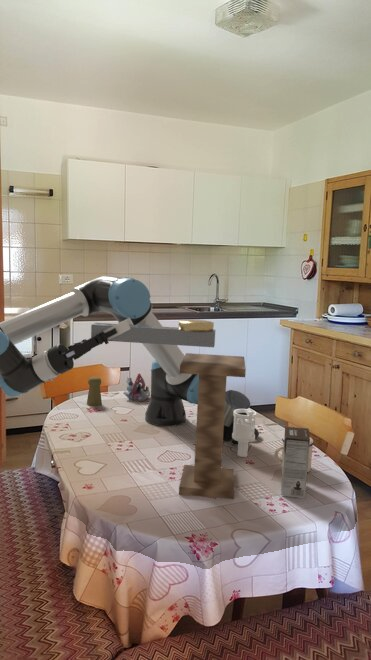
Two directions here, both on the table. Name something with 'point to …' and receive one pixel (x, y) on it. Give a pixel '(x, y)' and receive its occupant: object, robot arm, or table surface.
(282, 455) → the teacup with lid
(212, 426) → the walnut stand
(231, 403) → the milk frother
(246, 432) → the strainer
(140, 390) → the pink and grey figurine
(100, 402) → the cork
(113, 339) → the dark grey bar
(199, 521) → the table surface
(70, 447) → the table surface
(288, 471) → the coffee box
